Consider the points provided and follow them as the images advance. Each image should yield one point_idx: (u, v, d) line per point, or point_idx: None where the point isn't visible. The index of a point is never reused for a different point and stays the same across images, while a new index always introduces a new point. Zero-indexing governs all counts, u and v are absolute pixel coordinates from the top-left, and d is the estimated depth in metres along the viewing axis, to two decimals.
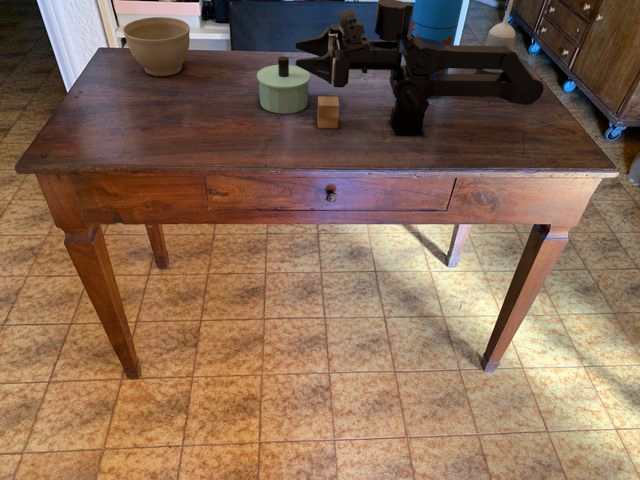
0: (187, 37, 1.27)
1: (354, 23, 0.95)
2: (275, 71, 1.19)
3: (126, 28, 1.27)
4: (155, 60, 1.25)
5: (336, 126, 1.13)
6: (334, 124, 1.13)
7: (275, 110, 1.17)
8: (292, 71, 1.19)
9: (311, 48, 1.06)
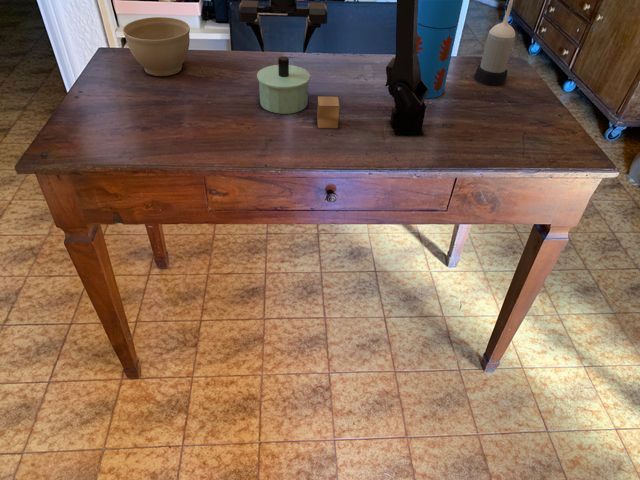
0: (187, 37, 1.27)
1: None
2: (275, 71, 1.19)
3: (126, 28, 1.27)
4: (155, 60, 1.25)
5: (336, 126, 1.13)
6: (334, 124, 1.13)
7: (275, 110, 1.17)
8: (292, 71, 1.19)
9: (305, 38, 1.11)
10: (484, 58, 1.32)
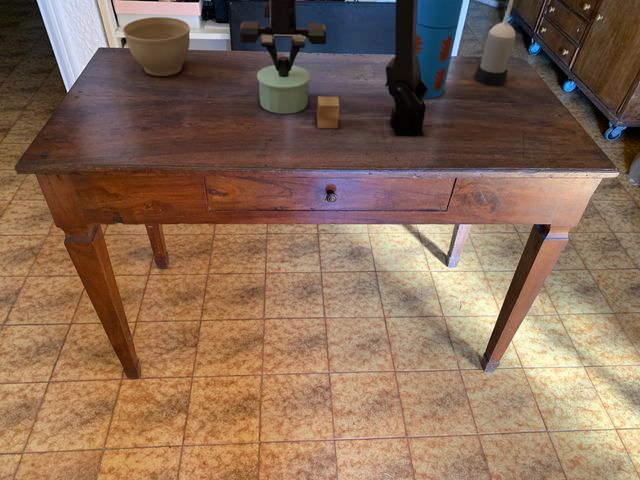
0: (187, 37, 1.27)
1: None
2: (275, 71, 1.19)
3: (126, 28, 1.27)
4: (155, 60, 1.25)
5: (336, 126, 1.13)
6: (334, 124, 1.13)
7: (275, 110, 1.17)
8: (292, 71, 1.19)
9: (290, 57, 1.14)
10: (484, 58, 1.32)
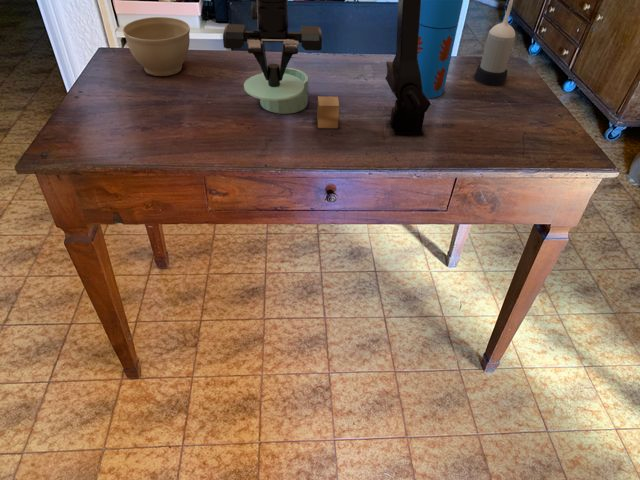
0: (187, 37, 1.27)
1: None
2: (265, 80, 1.05)
3: (126, 28, 1.27)
4: (155, 60, 1.25)
5: (336, 126, 1.13)
6: (334, 124, 1.13)
7: (275, 110, 1.17)
8: (284, 80, 1.05)
9: None
10: (484, 58, 1.32)
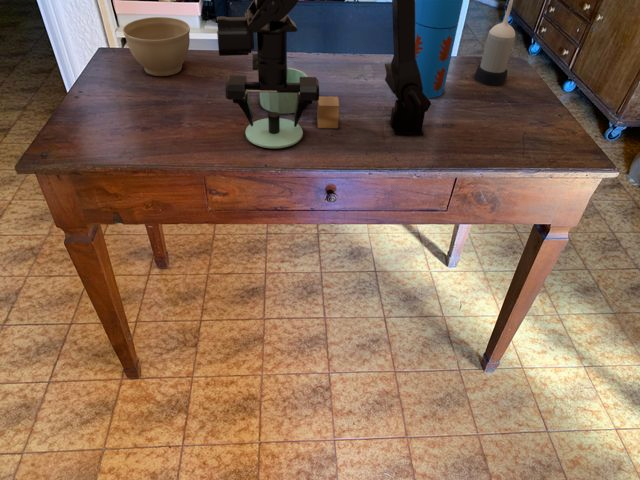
0: (187, 37, 1.27)
1: None
2: (265, 126, 1.10)
3: (126, 28, 1.27)
4: (155, 60, 1.25)
5: (336, 126, 1.13)
6: (334, 124, 1.13)
7: (275, 110, 1.17)
8: (283, 126, 1.11)
9: (296, 113, 1.06)
10: (484, 58, 1.32)
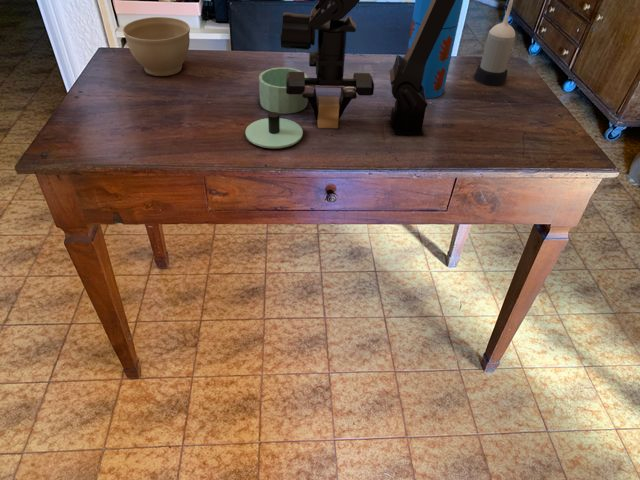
0: (187, 37, 1.27)
1: None
2: (265, 126, 1.10)
3: (126, 28, 1.27)
4: (155, 60, 1.25)
5: (336, 126, 1.13)
6: (334, 124, 1.13)
7: (275, 110, 1.17)
8: (283, 126, 1.11)
9: (340, 107, 1.12)
10: (484, 58, 1.32)
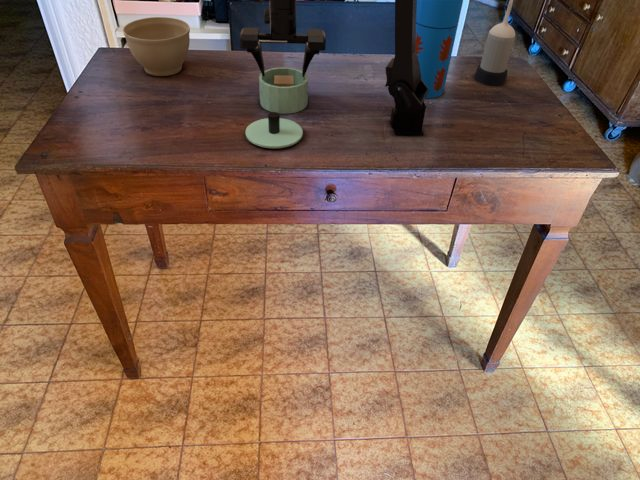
0: (187, 37, 1.27)
1: None
2: (265, 126, 1.10)
3: (126, 28, 1.27)
4: (155, 60, 1.25)
5: None
6: None
7: (275, 110, 1.17)
8: (283, 126, 1.11)
9: (304, 63, 1.15)
10: (484, 58, 1.32)
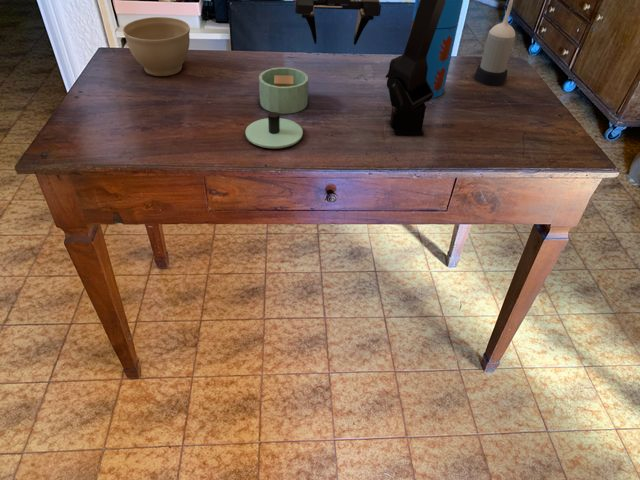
0: (187, 37, 1.27)
1: None
2: (265, 126, 1.10)
3: (126, 28, 1.27)
4: (155, 60, 1.25)
5: None
6: None
7: (275, 110, 1.17)
8: (283, 126, 1.11)
9: (357, 30, 1.15)
10: (484, 58, 1.32)
